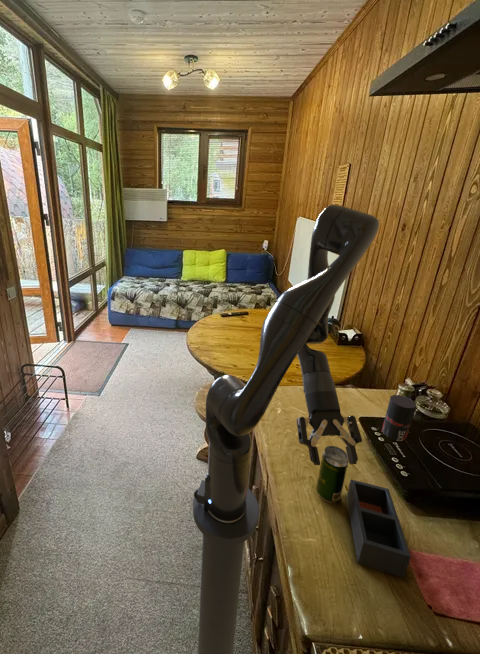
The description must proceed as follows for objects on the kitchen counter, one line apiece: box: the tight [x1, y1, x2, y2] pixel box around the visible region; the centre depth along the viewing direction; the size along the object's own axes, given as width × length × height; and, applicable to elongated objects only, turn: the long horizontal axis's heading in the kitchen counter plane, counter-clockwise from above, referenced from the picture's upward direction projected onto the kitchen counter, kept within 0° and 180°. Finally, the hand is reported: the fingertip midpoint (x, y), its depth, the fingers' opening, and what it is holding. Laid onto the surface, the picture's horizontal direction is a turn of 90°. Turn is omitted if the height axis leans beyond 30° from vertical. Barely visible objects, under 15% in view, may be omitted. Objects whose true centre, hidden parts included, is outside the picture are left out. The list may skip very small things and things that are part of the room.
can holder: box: [345, 479, 412, 578], centre depth 64 cm, size 8×15×6 cm, turn 162°
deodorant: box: [381, 394, 417, 441], centre depth 87 cm, size 6×6×15 cm
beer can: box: [316, 445, 349, 504], centre depth 72 cm, size 5×5×12 cm
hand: (335, 464), depth 70 cm, fingers open, 8 cm apart
